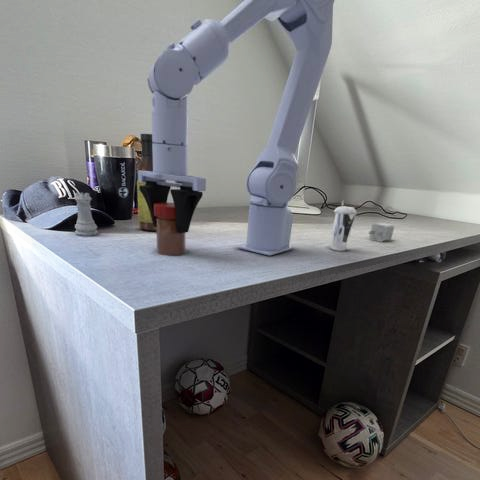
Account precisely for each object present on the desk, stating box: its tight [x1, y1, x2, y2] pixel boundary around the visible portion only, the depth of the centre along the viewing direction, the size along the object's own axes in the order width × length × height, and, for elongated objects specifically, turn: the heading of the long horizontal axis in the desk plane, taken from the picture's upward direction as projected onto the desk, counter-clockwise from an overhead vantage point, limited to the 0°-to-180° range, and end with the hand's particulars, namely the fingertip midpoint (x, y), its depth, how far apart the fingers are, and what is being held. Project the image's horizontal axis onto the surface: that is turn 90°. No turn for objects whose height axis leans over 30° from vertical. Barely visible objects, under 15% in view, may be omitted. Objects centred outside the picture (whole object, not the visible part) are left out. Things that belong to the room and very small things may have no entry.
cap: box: [153, 202, 176, 219], centre depth 61 cm, size 6×6×2 cm
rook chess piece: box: [73, 192, 99, 237], centre depth 70 cm, size 4×4×8 cm
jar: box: [155, 217, 187, 256], centre depth 62 cm, size 5×5×8 cm
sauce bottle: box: [136, 133, 167, 232], centre depth 77 cm, size 7×6×20 cm
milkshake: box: [330, 200, 357, 252], centre depth 75 cm, size 5×5×10 cm
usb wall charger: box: [368, 222, 395, 242], centre depth 89 cm, size 4×7×4 cm, turn 132°
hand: (170, 229), depth 62 cm, fingers closed on cap, 5 cm apart
